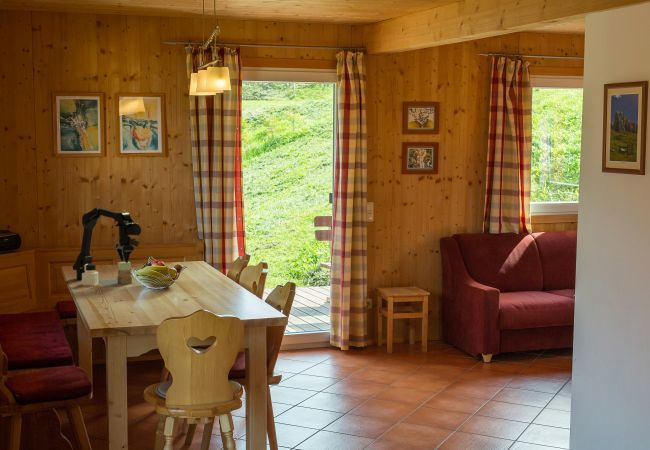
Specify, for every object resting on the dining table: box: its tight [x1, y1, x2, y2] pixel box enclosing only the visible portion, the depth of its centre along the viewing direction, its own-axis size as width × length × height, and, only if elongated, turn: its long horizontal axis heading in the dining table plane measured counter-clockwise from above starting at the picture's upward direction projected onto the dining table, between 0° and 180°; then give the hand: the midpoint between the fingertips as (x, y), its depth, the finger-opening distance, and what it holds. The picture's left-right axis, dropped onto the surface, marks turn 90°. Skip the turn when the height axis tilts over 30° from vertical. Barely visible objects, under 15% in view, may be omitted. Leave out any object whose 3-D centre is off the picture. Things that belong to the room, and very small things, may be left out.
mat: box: [99, 278, 135, 287], centre depth 486 cm, size 23×17×1 cm
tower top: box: [117, 268, 132, 277], centre depth 482 cm, size 6×6×4 cm
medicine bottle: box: [81, 263, 100, 286], centre depth 478 cm, size 7×7×12 cm
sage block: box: [117, 261, 132, 270], centre depth 482 cm, size 6×6×4 cm
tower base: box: [116, 275, 133, 286], centre depth 483 cm, size 6×6×4 cm
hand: (124, 261), depth 482 cm, fingers open, 9 cm apart
